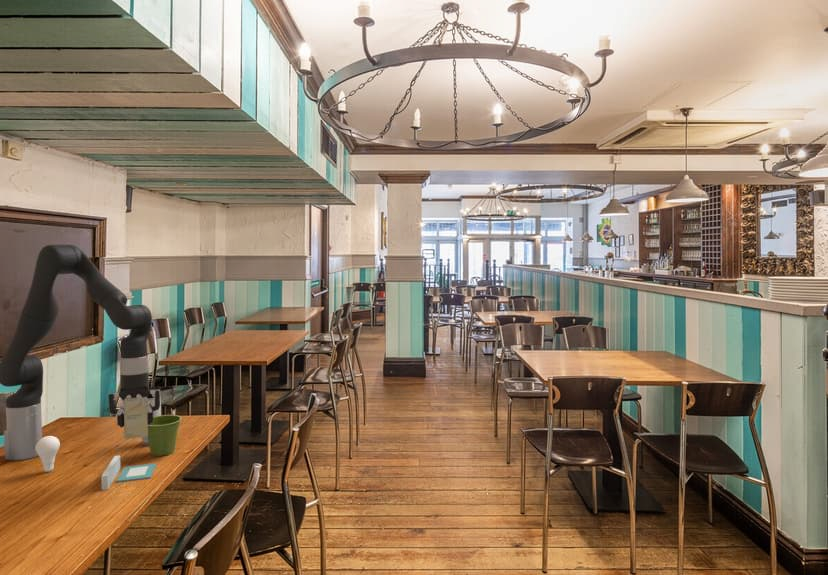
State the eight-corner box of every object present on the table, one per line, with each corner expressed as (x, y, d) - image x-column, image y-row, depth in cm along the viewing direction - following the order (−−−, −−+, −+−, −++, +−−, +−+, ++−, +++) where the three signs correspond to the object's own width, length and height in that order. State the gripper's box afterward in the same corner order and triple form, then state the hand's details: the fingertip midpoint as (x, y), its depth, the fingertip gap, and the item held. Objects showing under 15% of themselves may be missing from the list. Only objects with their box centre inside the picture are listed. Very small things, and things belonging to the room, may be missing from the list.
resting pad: (116, 482, 148) (116, 480, 148) (124, 468, 158) (124, 466, 158) (150, 478, 151) (150, 476, 151) (156, 464, 161) (156, 462, 161)
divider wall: (101, 490, 143) (101, 476, 143) (115, 468, 158) (114, 456, 158) (107, 489, 143) (107, 475, 143) (120, 467, 158) (120, 455, 158)
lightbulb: (65, 469, 158) (64, 434, 157) (45, 477, 152) (44, 440, 151) (51, 466, 160) (50, 432, 159) (31, 474, 154) (30, 438, 153)
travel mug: (157, 445, 178) (155, 389, 177) (138, 445, 178) (136, 389, 177) (166, 439, 184) (164, 385, 183) (148, 439, 184) (146, 385, 183)
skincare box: (124, 440, 150) (123, 399, 150) (123, 435, 154) (122, 396, 154) (148, 436, 154) (147, 396, 153) (147, 432, 158) (146, 393, 157)
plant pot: (138, 460, 164) (137, 426, 164) (148, 448, 176) (148, 416, 175) (178, 457, 167) (177, 423, 166) (185, 445, 179) (184, 413, 178)
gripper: (104, 375, 147) (105, 431, 148) (158, 372, 152) (160, 426, 153) (110, 370, 154) (111, 424, 155) (162, 367, 159) (163, 419, 160)
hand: (135, 425), depth 154 cm, fingers closed on skincare box, 7 cm apart
